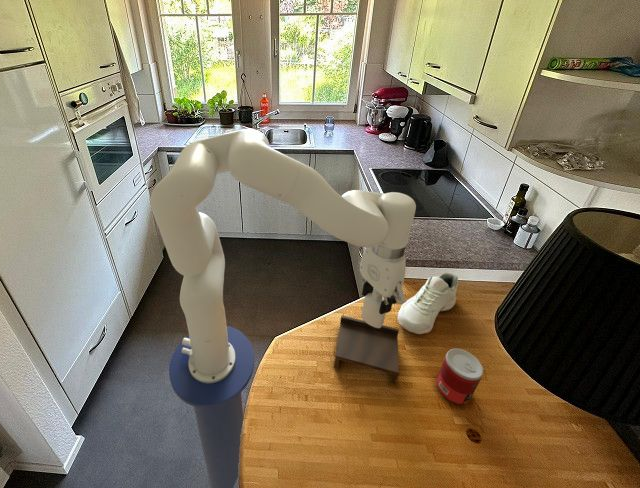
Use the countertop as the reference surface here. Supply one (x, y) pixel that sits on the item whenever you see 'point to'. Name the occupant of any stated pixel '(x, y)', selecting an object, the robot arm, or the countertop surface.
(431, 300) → the running shoe
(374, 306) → the eye dropper bottle
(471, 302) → the countertop surface
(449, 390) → the canned food
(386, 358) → the shelf
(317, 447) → the countertop surface
